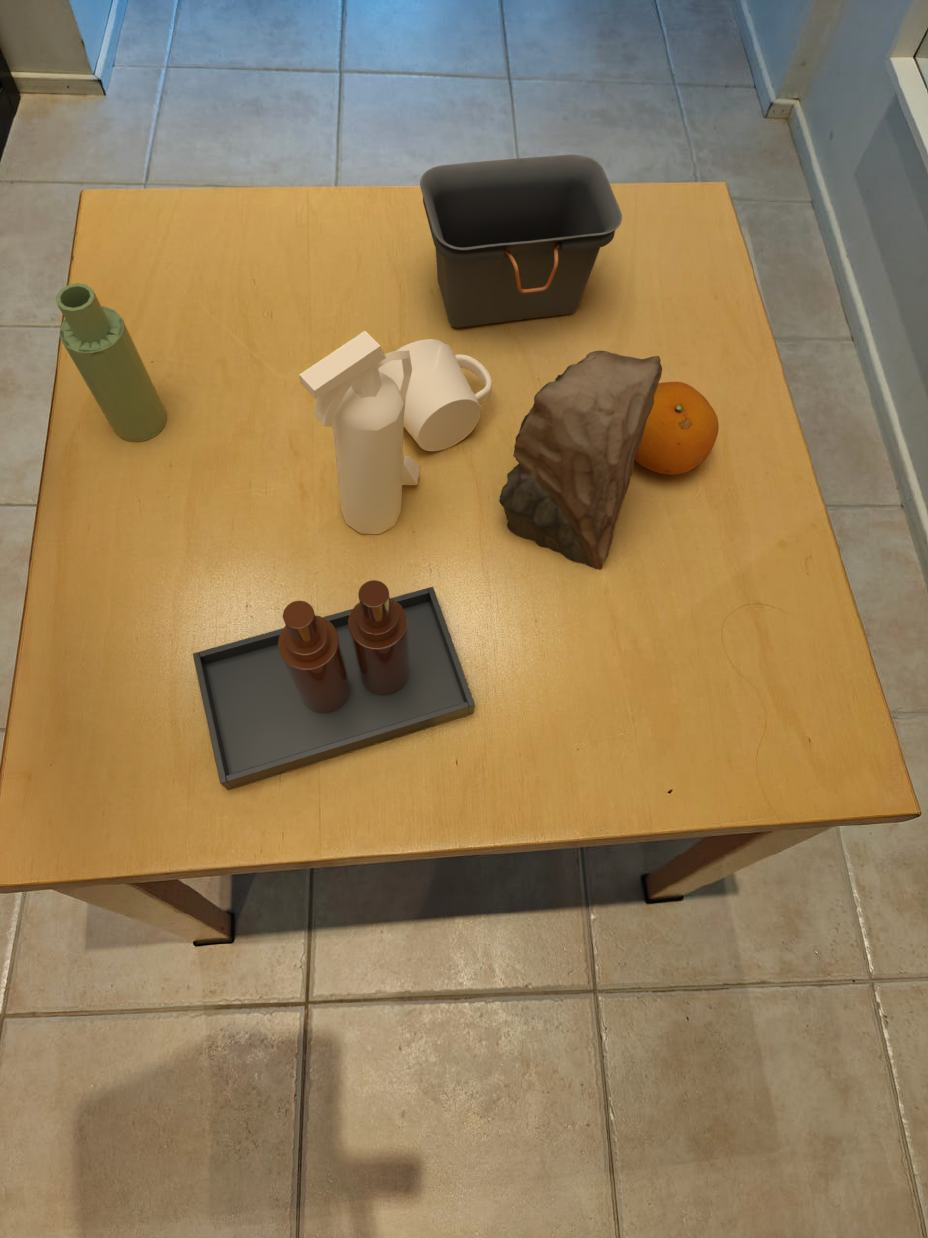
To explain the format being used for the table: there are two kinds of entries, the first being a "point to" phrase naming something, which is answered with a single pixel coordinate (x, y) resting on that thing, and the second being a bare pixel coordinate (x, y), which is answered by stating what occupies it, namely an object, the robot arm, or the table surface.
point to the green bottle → (110, 364)
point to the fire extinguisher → (365, 430)
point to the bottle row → (319, 654)
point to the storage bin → (517, 234)
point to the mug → (439, 394)
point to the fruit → (677, 430)
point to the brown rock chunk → (580, 454)
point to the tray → (296, 736)
